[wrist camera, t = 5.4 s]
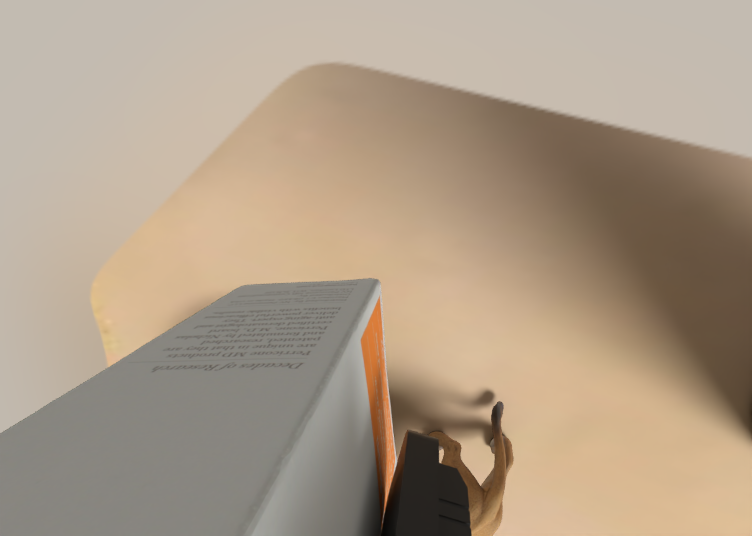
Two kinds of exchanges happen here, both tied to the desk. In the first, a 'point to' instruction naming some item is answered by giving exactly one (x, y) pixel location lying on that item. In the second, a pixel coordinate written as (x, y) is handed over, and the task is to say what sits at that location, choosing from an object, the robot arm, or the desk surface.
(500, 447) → the lion figurine
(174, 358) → the skincare box
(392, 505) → the robot arm
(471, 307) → the desk surface
